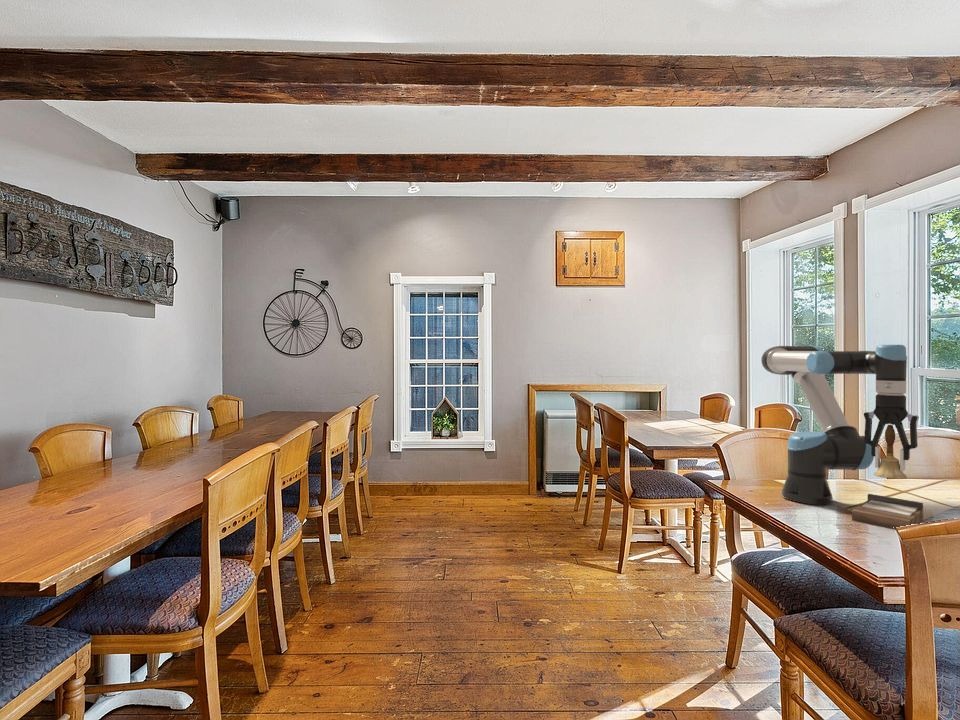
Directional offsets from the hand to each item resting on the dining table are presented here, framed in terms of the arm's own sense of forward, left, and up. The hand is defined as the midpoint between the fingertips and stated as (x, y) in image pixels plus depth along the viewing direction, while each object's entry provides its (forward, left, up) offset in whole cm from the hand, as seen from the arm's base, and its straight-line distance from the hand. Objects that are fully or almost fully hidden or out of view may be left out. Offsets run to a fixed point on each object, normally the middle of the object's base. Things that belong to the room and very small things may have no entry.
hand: (890, 468), depth 166 cm
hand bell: (0, 0, -3) cm, 3 cm away
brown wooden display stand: (-1, -2, -16) cm, 16 cm away
